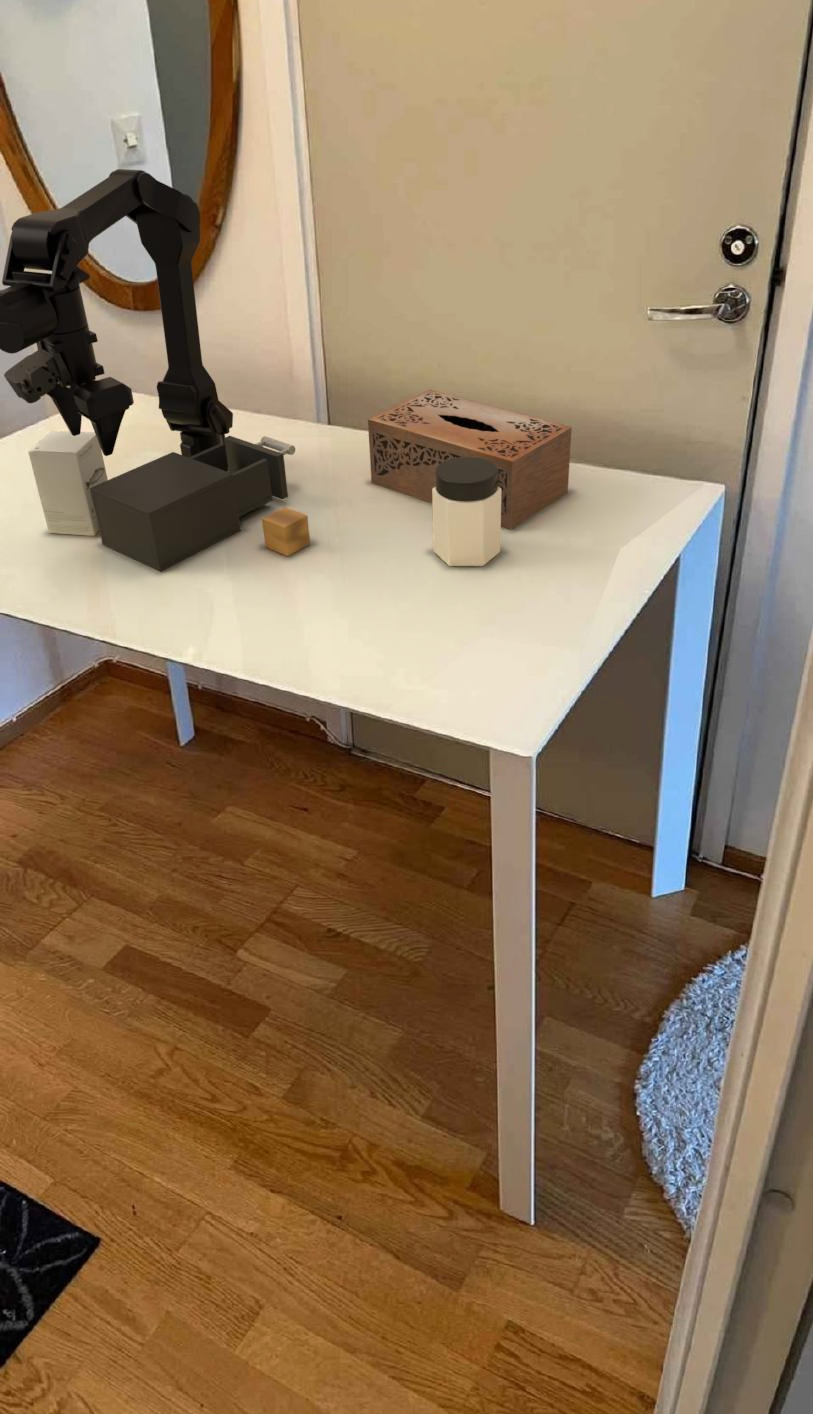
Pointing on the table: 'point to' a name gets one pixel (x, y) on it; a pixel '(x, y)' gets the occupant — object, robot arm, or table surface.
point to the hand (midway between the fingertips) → (91, 444)
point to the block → (286, 531)
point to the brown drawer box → (166, 510)
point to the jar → (466, 511)
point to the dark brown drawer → (251, 469)
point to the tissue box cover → (470, 450)
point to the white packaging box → (68, 480)
